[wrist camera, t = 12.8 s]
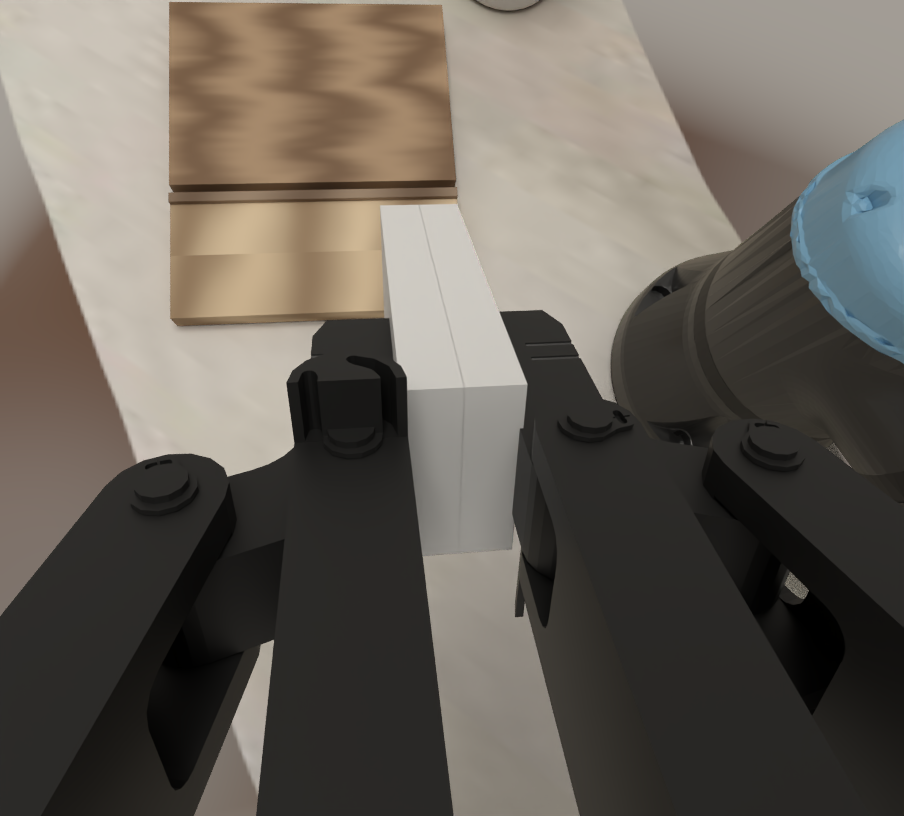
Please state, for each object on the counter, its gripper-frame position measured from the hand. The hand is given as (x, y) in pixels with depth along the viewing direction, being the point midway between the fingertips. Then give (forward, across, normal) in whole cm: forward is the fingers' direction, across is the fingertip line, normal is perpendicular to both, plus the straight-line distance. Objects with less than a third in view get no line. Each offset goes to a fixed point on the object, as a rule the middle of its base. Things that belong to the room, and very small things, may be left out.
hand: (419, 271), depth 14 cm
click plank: (+33, -4, -8) cm, 34 cm away
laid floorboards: (+30, -4, -12) cm, 33 cm away
